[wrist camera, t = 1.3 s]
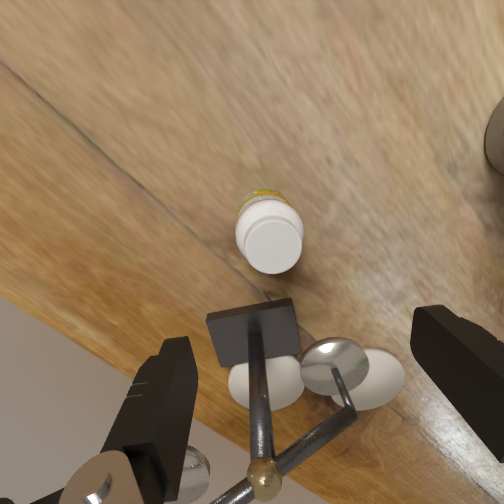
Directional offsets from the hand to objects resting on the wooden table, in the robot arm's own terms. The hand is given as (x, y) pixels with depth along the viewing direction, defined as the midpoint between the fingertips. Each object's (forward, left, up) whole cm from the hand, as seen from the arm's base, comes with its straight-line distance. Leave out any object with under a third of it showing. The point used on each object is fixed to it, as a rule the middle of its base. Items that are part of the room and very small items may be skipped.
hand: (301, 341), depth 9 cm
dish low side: (-11, +24, -19) cm, 32 cm away
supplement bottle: (0, 0, -19) cm, 19 cm away
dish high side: (+2, +22, -19) cm, 29 cm away
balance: (+3, +14, -19) cm, 24 cm away
